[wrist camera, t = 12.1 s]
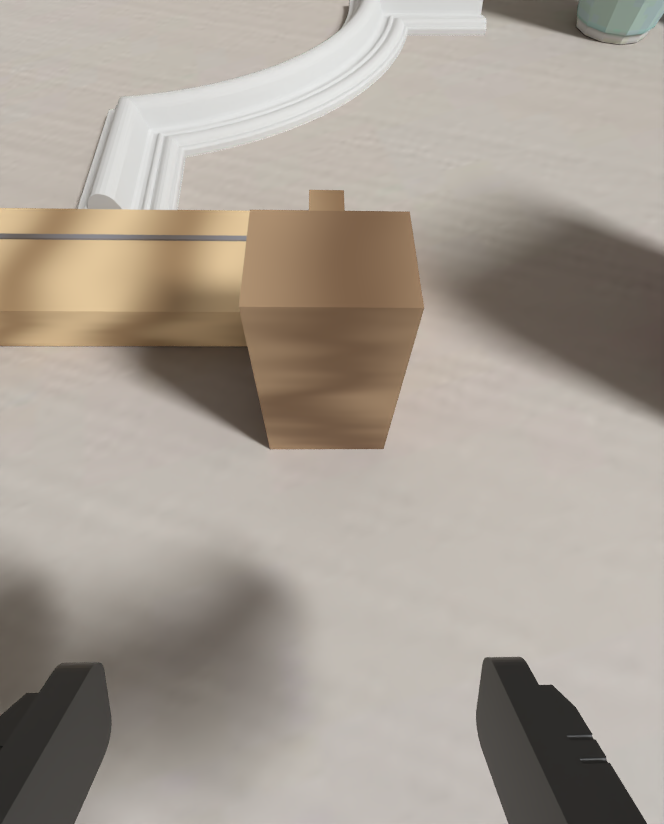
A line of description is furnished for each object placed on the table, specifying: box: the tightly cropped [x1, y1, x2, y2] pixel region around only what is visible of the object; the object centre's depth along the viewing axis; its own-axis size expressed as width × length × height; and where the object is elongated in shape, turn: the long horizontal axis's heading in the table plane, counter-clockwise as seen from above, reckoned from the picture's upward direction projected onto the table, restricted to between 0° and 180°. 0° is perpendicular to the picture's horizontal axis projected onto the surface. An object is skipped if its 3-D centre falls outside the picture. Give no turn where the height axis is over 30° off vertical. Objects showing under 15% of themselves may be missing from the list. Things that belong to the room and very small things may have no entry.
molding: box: [77, 0, 486, 210], centre depth 35 cm, size 42×12×3 cm, turn 139°
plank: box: [0, 208, 250, 346], centre depth 23 cm, size 24×7×3 cm, turn 91°
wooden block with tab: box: [239, 190, 424, 449], centre depth 19 cm, size 5×11×9 cm, turn 1°
